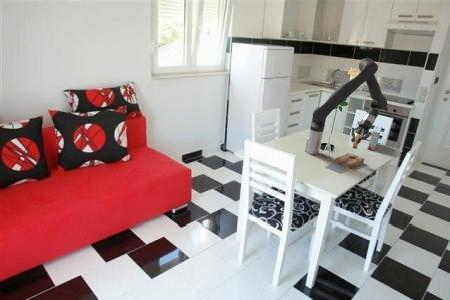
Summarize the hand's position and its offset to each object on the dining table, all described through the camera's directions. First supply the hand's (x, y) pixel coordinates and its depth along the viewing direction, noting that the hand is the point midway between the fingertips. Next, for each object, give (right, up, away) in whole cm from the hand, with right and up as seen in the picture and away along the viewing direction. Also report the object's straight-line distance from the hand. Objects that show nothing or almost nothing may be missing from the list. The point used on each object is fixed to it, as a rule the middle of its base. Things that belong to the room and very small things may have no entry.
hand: (354, 142), depth 212 cm
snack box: (+31, -3, +41) cm, 52 cm away
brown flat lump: (-2, -14, +5) cm, 15 cm away
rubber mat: (-14, -18, -6) cm, 23 cm away
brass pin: (+1, -4, +3) cm, 5 cm away
